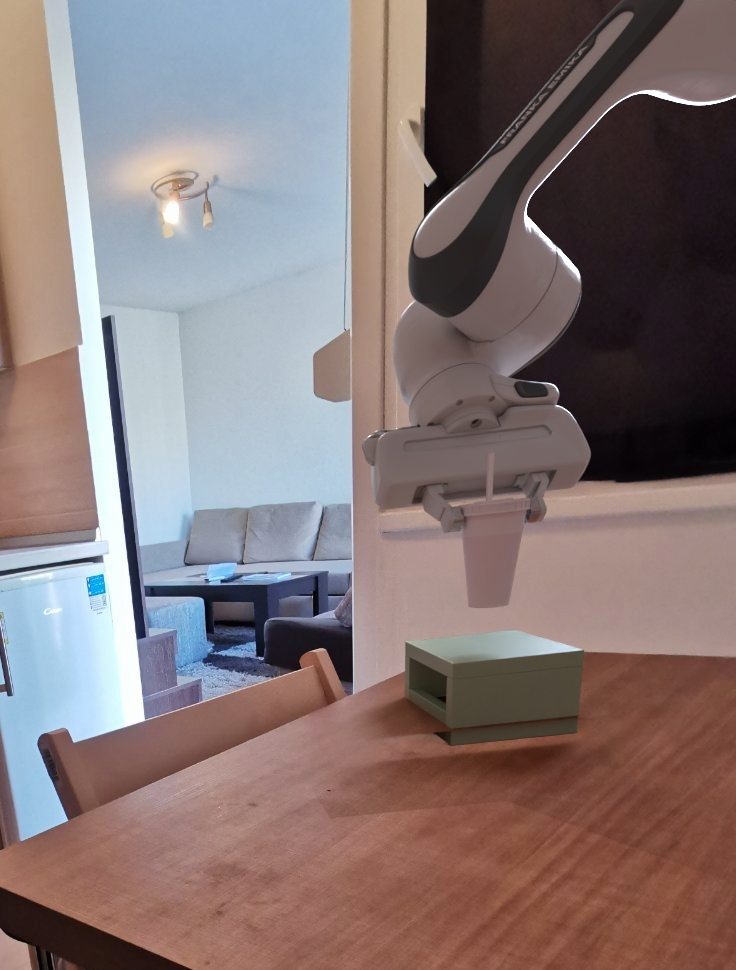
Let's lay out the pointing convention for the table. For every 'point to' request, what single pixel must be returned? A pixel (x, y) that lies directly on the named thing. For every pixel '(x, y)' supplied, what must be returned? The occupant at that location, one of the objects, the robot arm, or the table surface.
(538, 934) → the table surface
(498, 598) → the smoothie
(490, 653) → the shelf
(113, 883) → the table surface
